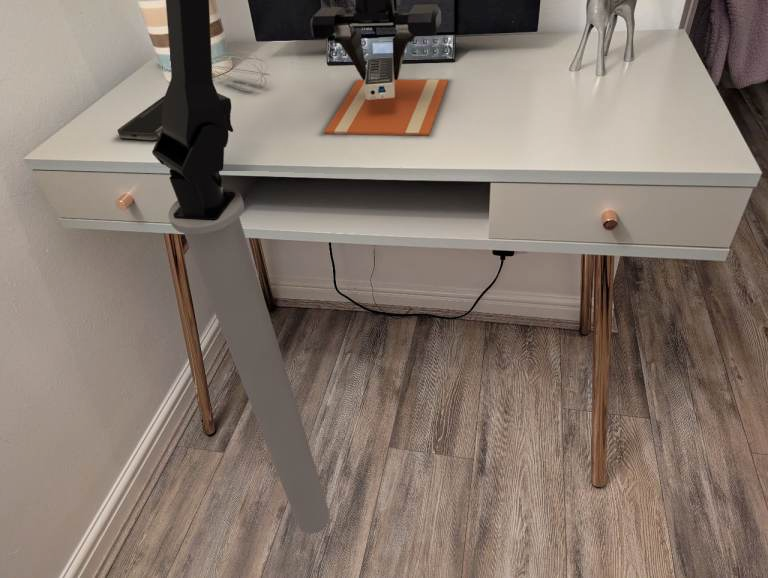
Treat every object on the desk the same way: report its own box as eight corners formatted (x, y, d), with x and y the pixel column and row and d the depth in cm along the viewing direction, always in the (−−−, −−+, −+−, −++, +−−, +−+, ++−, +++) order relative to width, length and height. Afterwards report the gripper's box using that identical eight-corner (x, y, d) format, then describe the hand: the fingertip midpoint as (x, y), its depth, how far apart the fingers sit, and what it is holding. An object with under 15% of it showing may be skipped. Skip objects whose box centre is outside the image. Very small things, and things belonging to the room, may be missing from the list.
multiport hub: (395, 71, 95) (394, 56, 94) (394, 97, 87) (393, 82, 85) (368, 73, 95) (367, 59, 94) (365, 100, 87) (364, 85, 86)
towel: (428, 135, 84) (428, 132, 84) (325, 133, 88) (324, 131, 87) (447, 81, 99) (447, 79, 98) (358, 82, 102) (357, 79, 102)
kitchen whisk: (173, 58, 121) (163, 27, 117) (281, 88, 104) (273, 52, 100) (148, 68, 118) (136, 36, 114) (255, 101, 100) (246, 64, 96)
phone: (204, 95, 101) (154, 134, 90) (206, 101, 101) (157, 141, 91) (166, 93, 103) (113, 131, 92) (168, 99, 104) (116, 138, 93)
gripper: (445, -49, 84) (447, 60, 94) (324, -43, 88) (338, 60, 98) (433, -30, 76) (436, 86, 86) (300, -24, 80) (318, 86, 90)
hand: (380, 79), depth 90 cm, fingers closed on multiport hub, 5 cm apart
